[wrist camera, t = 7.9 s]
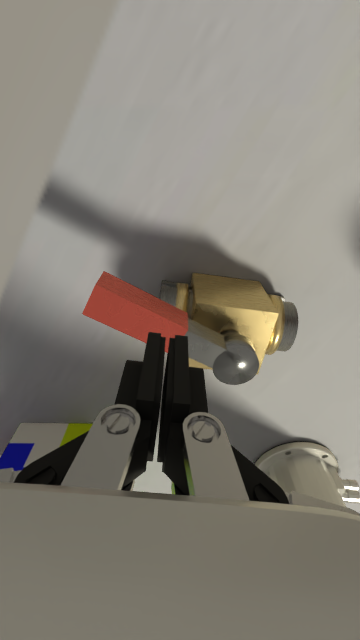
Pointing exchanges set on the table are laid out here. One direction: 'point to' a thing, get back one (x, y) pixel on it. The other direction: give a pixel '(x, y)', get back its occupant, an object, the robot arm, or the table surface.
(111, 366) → the table surface
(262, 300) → the valve
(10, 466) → the puzzle toy
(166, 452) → the robot arm
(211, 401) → the table surface
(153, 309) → the lever
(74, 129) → the table surface
